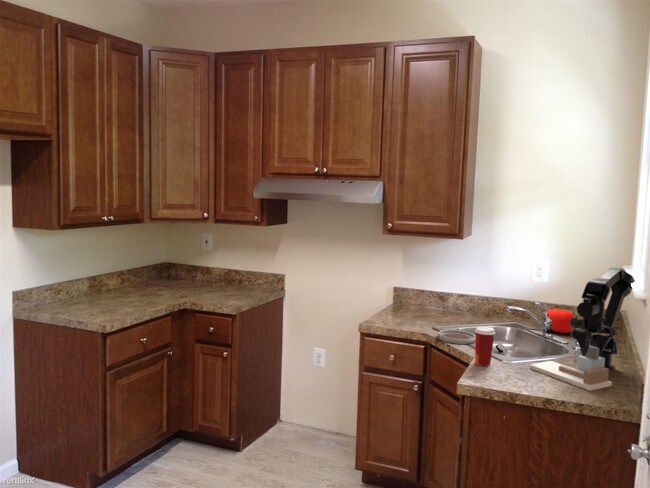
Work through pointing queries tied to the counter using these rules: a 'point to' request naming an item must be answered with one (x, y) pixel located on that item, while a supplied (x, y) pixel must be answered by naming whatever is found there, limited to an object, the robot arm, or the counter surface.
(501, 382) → the counter surface
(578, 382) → the mounting board
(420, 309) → the counter surface
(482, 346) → the paper cup
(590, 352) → the cabinet block
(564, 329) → the red bell pepper
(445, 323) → the counter surface
